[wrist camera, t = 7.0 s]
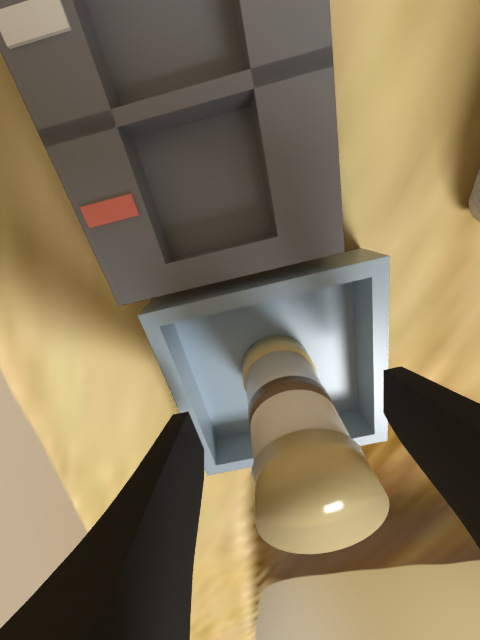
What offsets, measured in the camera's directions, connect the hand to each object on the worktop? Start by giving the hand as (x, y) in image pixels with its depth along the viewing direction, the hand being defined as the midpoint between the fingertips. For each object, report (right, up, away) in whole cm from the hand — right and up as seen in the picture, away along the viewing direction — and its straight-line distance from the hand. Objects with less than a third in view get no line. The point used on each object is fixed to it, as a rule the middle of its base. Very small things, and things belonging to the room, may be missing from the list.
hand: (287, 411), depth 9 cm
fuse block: (-3, +10, -1) cm, 11 cm away
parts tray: (0, +1, +3) cm, 3 cm away
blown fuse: (0, +1, +3) cm, 3 cm away
